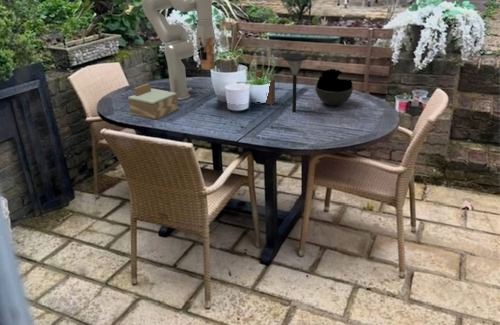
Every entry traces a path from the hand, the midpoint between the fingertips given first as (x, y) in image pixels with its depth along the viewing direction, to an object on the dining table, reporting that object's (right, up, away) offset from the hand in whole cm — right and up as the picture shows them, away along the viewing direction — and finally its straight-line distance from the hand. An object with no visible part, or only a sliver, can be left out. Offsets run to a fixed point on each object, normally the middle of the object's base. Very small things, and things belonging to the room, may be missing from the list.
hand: (207, 58), depth 234 cm
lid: (-30, -19, +5) cm, 36 cm away
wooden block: (+31, -21, +17) cm, 41 cm away
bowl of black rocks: (+68, -23, +12) cm, 73 cm away
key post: (0, -5, +2) cm, 5 cm away
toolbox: (-29, -27, +9) cm, 41 cm away
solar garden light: (+46, -28, +3) cm, 53 cm away
